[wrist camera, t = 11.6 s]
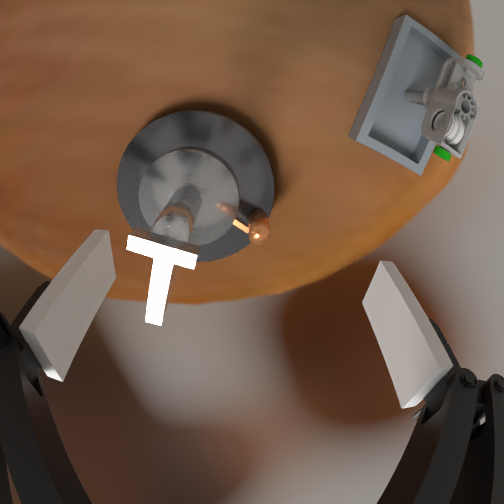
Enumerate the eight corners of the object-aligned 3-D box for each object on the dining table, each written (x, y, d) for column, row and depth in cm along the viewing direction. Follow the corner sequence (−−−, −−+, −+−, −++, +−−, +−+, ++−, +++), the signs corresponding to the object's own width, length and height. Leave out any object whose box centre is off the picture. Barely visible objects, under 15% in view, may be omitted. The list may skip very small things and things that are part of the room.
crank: (156, 135, 25) (103, 166, 15) (253, 163, 27) (254, 209, 17) (134, 257, 32) (98, 324, 23) (212, 280, 34) (200, 354, 25)
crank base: (141, 94, 25) (116, 97, 19) (296, 139, 28) (307, 150, 22) (116, 230, 33) (96, 256, 28) (244, 268, 36) (242, 299, 31)
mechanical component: (431, 66, 21) (492, 70, 13) (404, 140, 26) (458, 167, 18) (412, 52, 21) (471, 49, 12) (383, 129, 26) (436, 152, 17)
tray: (395, 18, 19) (405, 14, 17) (454, 61, 21) (466, 61, 19) (347, 136, 27) (355, 140, 25) (410, 169, 29) (420, 175, 27)
